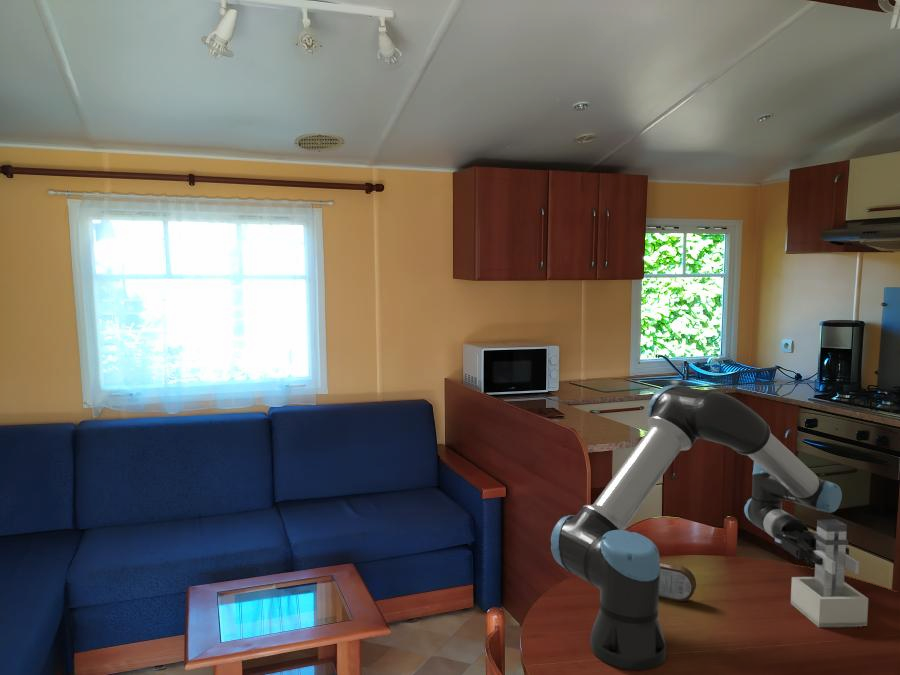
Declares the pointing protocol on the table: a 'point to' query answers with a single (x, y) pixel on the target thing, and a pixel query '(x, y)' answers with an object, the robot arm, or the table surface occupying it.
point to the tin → (676, 582)
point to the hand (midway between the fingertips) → (845, 568)
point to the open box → (829, 605)
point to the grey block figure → (831, 557)
